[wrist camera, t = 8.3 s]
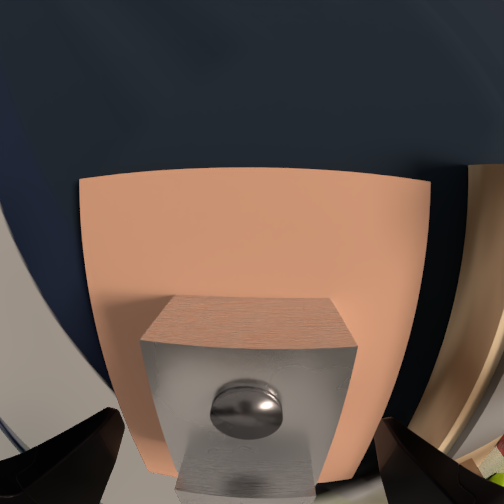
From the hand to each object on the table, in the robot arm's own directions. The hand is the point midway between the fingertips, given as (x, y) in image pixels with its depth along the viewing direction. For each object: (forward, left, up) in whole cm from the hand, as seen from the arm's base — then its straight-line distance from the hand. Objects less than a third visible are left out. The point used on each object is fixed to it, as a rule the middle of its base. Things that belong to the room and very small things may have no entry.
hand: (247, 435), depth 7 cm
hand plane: (0, -12, -3) cm, 12 cm away
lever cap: (0, 0, -2) cm, 2 cm away
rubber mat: (0, 0, -3) cm, 3 cm away
